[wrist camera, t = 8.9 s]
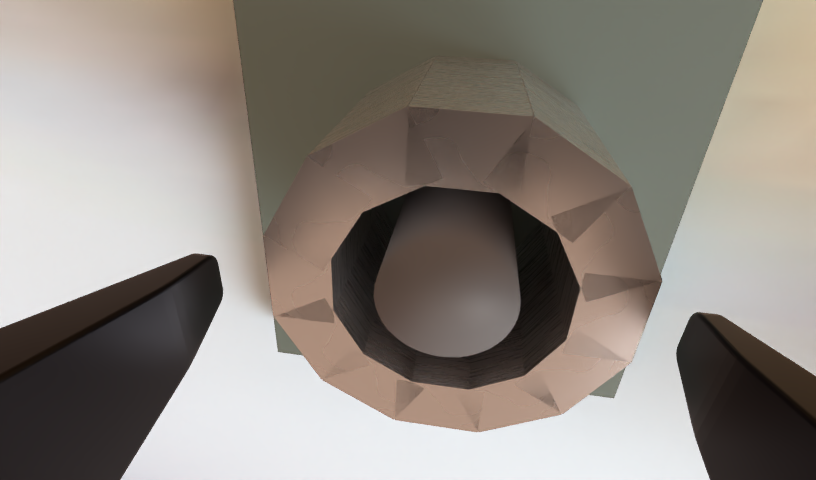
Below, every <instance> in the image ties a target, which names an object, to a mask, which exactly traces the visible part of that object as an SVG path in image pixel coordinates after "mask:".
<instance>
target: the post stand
mask: <svg viewBox="0 0 816 480" xmlns="http://www.w3.org/2000/svg"><path fill="white" fill-rule="evenodd" d="M233 2H234V10H235V18H236V26H237V33H238V41H239V49H240V57H241V65H242V73H243V80H244V88H245V96H246V104H247V112H248V120H249V128H250V135H251V143H252V151H253V159H254V167H255V175H256V183H257V190H258V198H259V206H260V214H261V222H262V230H263V236H264V233H265V231H266V230H267V228H268V226H269V224H270V222H271V220H272V219H273V217H274V215H275V213H276V211H277V210H278V208H279V206H280V204H281V202H282V200H283V199H284V197H285V195H286V193H287V191H288V190H289V188H290V186H291V184H292V182H293V180H294V179H295V177H296V175H297V173H298V171H299V170H300V168H301V166H302V164H303V162H304V160H305V159H306V157H307V156H308V155H309V154H310V152H311V151H312V150H313V149H314V148H315V147H316V146H317V145H318V144H319V143H320V142H321V141H322V140H323V139H324V138H325V137H326V136H327V135H328V134H329V133H330V132H331V131H332V130H333V128H334V127H335V126H336V125H337V124H338V123H339V122H340V121H341V120H342V119H343V118H344V117H345V116H346V115H347V114H348V113H349V112H350V111H351V110H352V109H353V108H354V107H355V106H356V104H357V103H358V102H359V101H360V100H361V99H362V98H363V97H364V96H365V95H366V94H367V93H368V92H369V91H370V90H371V89H373V88H375V87H377V86H379V85H381V84H383V83H385V82H387V81H389V80H390V79H392V78H394V77H396V76H398V75H400V74H402V73H404V72H406V71H408V70H410V69H412V68H413V67H415V66H417V65H419V64H421V63H423V62H425V61H427V60H429V59H431V58H433V57H434V56H437V55H440V56H455V57H469V58H484V59H498V60H512V61H516V62H517V61H518V62H519V63H520V64H522V65H523V66H524V67H526V68H527V69H528V70H530V71H531V72H532V73H534V74H535V75H537V76H538V77H539V78H541V79H542V80H543V81H545V82H546V83H547V84H549V85H550V86H551V87H553V88H554V89H556V90H557V91H558V92H560V93H561V94H562V95H564V96H565V97H566V98H568V99H569V100H570V101H572V102H573V103H575V104H576V105H577V106H578V107H579V108H580V110H581V111H582V113H583V114H584V116H585V117H586V119H587V120H588V122H589V123H590V125H591V126H592V128H593V129H594V131H595V132H596V134H597V135H598V137H599V138H600V140H601V141H602V143H603V144H604V146H605V147H606V149H607V150H608V152H609V153H610V155H611V156H612V158H613V159H614V161H615V162H616V164H617V165H618V167H619V168H620V170H621V171H622V173H623V174H624V176H625V177H626V179H627V180H628V182H629V183H630V185H631V187H632V189H633V192H634V195H635V198H636V201H637V204H638V207H639V210H640V213H641V217H642V220H643V223H644V226H645V229H646V232H647V235H648V238H649V241H650V244H651V247H652V250H653V253H654V256H655V260H656V263H657V266H658V269H659V272H660V274H661V271H662V269H663V266H664V263H665V261H666V258H667V255H668V253H669V250H670V247H671V245H672V242H673V239H674V237H675V234H676V231H677V229H678V226H679V223H680V221H681V218H682V215H683V213H684V210H685V207H686V205H687V202H688V199H689V197H690V194H691V191H692V189H693V186H694V183H695V181H696V178H697V175H698V173H699V170H700V167H701V165H702V162H703V159H704V157H705V154H706V151H707V149H708V146H709V143H710V141H711V138H712V135H713V133H714V130H715V127H716V125H717V122H718V119H719V117H720V114H721V111H722V109H723V106H724V103H725V101H726V98H727V95H728V93H729V90H730V87H731V85H732V82H733V79H734V77H735V74H736V71H737V69H738V66H739V63H740V61H741V58H742V55H743V53H744V50H745V47H746V45H747V42H748V39H749V37H750V34H751V31H752V29H753V26H754V23H755V21H756V18H757V15H758V13H759V10H760V7H761V5H762V2H763V0H233ZM381 206H382V208H383V209H384V211H385V213H386V215H387V216H388V218H389V220H390V221H391V223H392V225H393V227H394V231H393V234H392V236H391V239H390V242H389V245H388V248H387V250H386V253H385V256H384V259H383V262H382V264H381V267H380V270H379V273H378V276H377V279H376V282H375V287H374V302H375V306H376V310H377V312H378V315H379V317H380V319H381V320H382V322H383V324H384V325H385V326H386V328H387V329H388V330H389V331H390V332H391V333H392V334H393V335H394V336H395V337H396V338H397V339H398V340H400V341H401V342H403V343H404V344H406V345H407V346H409V347H411V348H413V349H415V350H418V351H420V352H423V353H426V354H430V355H434V356H440V357H464V356H470V355H474V354H478V353H481V352H483V351H486V350H488V349H490V348H492V347H493V346H495V345H497V344H498V343H499V342H501V341H502V340H503V339H504V338H505V337H506V336H507V335H508V334H509V333H510V331H511V330H512V328H513V327H514V325H515V323H516V321H517V319H518V316H519V312H520V305H521V301H520V288H519V278H518V269H517V259H516V249H515V248H516V247H517V246H518V245H519V244H520V243H521V242H522V241H523V240H524V239H525V237H526V236H527V235H528V234H529V233H530V232H531V231H532V230H533V229H534V228H535V227H536V226H537V225H538V224H539V223H540V220H538V219H537V218H535V217H534V216H532V215H531V214H529V213H528V212H526V211H525V210H523V209H522V208H520V207H519V206H517V205H516V204H514V203H513V202H511V201H510V200H508V199H507V198H505V197H504V196H503V195H501V194H500V193H492V192H482V191H472V190H462V189H452V188H441V187H431V186H423V187H421V188H419V189H416V190H414V191H411V192H409V193H407V194H404V195H402V196H400V197H397V198H395V199H393V200H390V201H388V202H385V203H383V204H381ZM274 324H275V332H276V339H277V347H278V352H283V353H290V354H297V355H303V354H302V353H301V352H300V350H299V349H298V348H297V346H296V345H295V344H294V343H293V341H292V340H291V339H290V337H289V336H288V335H287V333H286V332H285V331H284V329H283V328H282V327H281V326H280V324H279V323H278V322H277V320H276V319H275V318H274ZM624 370H625V368H624V369H622V370H621V371H620V372H618V373H617V374H616V375H614V376H613V377H612V378H610V379H609V380H607V381H606V382H605V383H603V384H602V385H601V386H599V387H598V388H597V389H595V390H594V391H593V392H591V393H590V394H589V395H594V396H602V397H609V398H614V397H615V394H616V391H617V389H618V386H619V383H620V381H621V378H622V375H623V373H624Z"/></svg>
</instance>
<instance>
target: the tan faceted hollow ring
mask: <svg viewBox="0 0 816 480" xmlns="http://www.w3.org/2000/svg"><path fill="white" fill-rule="evenodd" d="M423 186H431V187H441V188H452V189H462V190H472V191H482V192H492V193H500V194H501V195H503V196H504V197H505V198H507V199H508V200H510V201H511V202H513V203H514V204H516V205H517V206H519V207H520V208H522V209H523V210H525V211H526V212H528V213H529V214H531V215H532V216H534V217H535V218H537V219H538V220H540V223H539V224H538V225H537V226H536V227H535V228H534V229H533V230H532V231H531V232H530V233H529V234H528V235H527V236H526V237H525V239H524V240H523V241H522V242H521V243H520V244H519V245H518V246H517V247H516V248H515V249H516V259H517V269H518V278H519V288H520V301H521V305H520V312H519V316H518V319H517V321H516V323H515V325H514V327H513V328H512V330H511V331H510V333H509V334H508V335H507V336H506V337H505V338H504V339H503V340H502V341H501V342H499V343H498V344H497V345H495V346H493V347H492V348H490V349H488V350H486V351H483V352H481V353H478V354H474V355H470V356H464V357H440V356H434V355H430V354H426V353H423V352H420V351H418V350H415V349H413V348H411V347H409V346H407V345H406V344H404V343H403V342H401V341H400V340H398V339H397V338H396V337H395V336H394V335H393V334H392V333H391V332H390V331H389V330H388V329H387V328H386V326H385V325H384V324H383V322H382V320H381V319H380V317H379V315H378V312H377V310H376V306H375V302H374V287H375V282H376V279H377V276H378V273H379V270H380V267H381V264H382V262H383V259H384V256H385V253H386V250H387V248H388V245H389V242H390V239H391V236H392V234H393V231H394V227H393V225H392V223H391V221H390V220H389V218H388V216H387V215H386V213H385V211H384V209H383V208H382V206H381V204H383V203H385V202H388V201H390V200H393V199H395V198H397V197H400V196H402V195H404V194H407V193H409V192H411V191H414V190H416V189H419V188H421V187H423ZM263 239H264V247H265V255H266V263H267V270H268V278H269V286H270V294H271V302H272V310H273V316H274V318H275V319H276V320H277V322H278V323H279V324H280V326H281V327H282V328H283V329H284V331H285V332H286V333H287V335H288V336H289V337H290V339H291V340H292V341H293V343H294V344H295V345H296V346H297V348H298V349H299V350H300V352H301V353H302V354H303V356H304V357H305V358H306V360H307V361H308V362H309V363H310V365H311V366H312V367H313V369H314V370H315V371H316V373H317V374H318V375H319V377H320V378H321V379H323V381H325V382H327V383H329V384H330V385H332V386H334V387H336V388H338V389H339V390H341V391H343V392H345V393H347V394H349V395H350V396H352V397H354V398H356V399H358V400H359V401H361V402H363V403H365V404H367V405H368V406H370V407H372V408H374V409H376V410H377V411H379V412H381V413H383V414H385V415H386V416H388V417H390V418H392V419H395V420H399V421H406V422H412V423H419V424H426V425H432V426H439V427H446V428H452V429H459V430H466V431H472V432H482V431H487V430H491V429H496V428H501V427H505V426H510V425H515V424H519V423H524V422H529V421H533V420H538V419H543V418H547V417H552V416H556V415H561V413H562V414H563V413H565V412H566V411H567V410H569V409H570V408H571V407H573V406H574V405H575V404H577V403H578V402H579V401H581V400H582V399H583V398H585V397H586V396H587V395H589V394H590V393H591V392H593V391H594V390H595V389H597V388H598V387H599V386H601V385H602V384H603V383H605V382H606V381H607V380H609V379H610V378H612V377H613V376H614V375H616V374H617V373H618V372H620V371H621V370H622V369H624V368H625V367H626V366H628V365H629V364H630V362H632V359H633V357H634V354H635V352H636V349H637V346H638V344H639V341H640V338H641V336H642V333H643V331H644V328H645V325H646V323H647V320H648V317H649V315H650V312H651V310H652V307H653V304H654V302H655V299H656V296H657V294H658V291H659V289H660V286H661V283H662V278H661V275H660V272H659V269H658V266H657V263H656V260H655V256H654V253H653V250H652V247H651V244H650V241H649V238H648V235H647V232H646V229H645V226H644V223H643V220H642V217H641V213H640V210H639V207H638V204H637V201H636V198H635V195H634V192H633V189H632V187H631V185H630V183H629V182H628V180H627V179H626V177H625V176H624V174H623V173H622V171H621V170H620V168H619V167H618V165H617V164H616V162H615V161H614V159H613V158H612V156H611V155H610V153H609V152H608V150H607V149H606V147H605V146H604V144H603V143H602V141H601V140H600V138H599V137H598V135H597V134H596V132H595V131H594V129H593V128H592V126H591V125H590V123H589V122H588V120H587V119H586V117H585V116H584V114H583V113H582V111H581V110H580V108H579V107H578V106H577V105H576V104H575V103H573V102H572V101H570V100H569V99H568V98H566V97H565V96H564V95H562V94H561V93H560V92H558V91H557V90H556V89H554V88H553V87H551V86H550V85H549V84H547V83H546V82H545V81H543V80H542V79H541V78H539V77H538V76H537V75H535V74H534V73H532V72H531V71H530V70H528V69H527V68H526V67H524V66H523V65H522V64H520V63H519V62H518V61H517V62H516V61H512V60H498V59H484V58H469V57H455V56H440V55H437V56H434V57H433V58H431V59H429V60H427V61H425V62H423V63H421V64H419V65H417V66H415V67H413V68H412V69H410V70H408V71H406V72H404V73H402V74H400V75H398V76H396V77H394V78H392V79H390V80H389V81H387V82H385V83H383V84H381V85H379V86H377V87H375V88H373V89H371V90H370V91H369V92H368V93H367V94H366V95H365V96H364V97H363V98H362V99H361V100H360V101H359V102H358V103H357V104H356V106H355V107H354V108H353V109H352V110H351V111H350V112H349V113H348V114H347V115H346V116H345V117H344V118H343V119H342V120H341V121H340V122H339V123H338V124H337V125H336V126H335V127H334V128H333V130H332V131H331V132H330V133H329V134H328V135H327V136H326V137H325V138H324V139H323V140H322V141H321V142H320V143H319V144H318V145H317V146H316V147H315V148H314V149H313V150H312V151H311V152H310V154H309V155H308V156H307V157H306V159H305V160H304V162H303V164H302V166H301V168H300V170H299V171H298V173H297V175H296V177H295V179H294V180H293V182H292V184H291V186H290V188H289V190H288V191H287V193H286V195H285V197H284V199H283V200H282V202H281V204H280V206H279V208H278V210H277V211H276V213H275V215H274V217H273V219H272V220H271V222H270V224H269V226H268V228H267V230H266V231H265V233H264V236H263Z"/></svg>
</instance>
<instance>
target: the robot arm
mask: <svg viewBox="0 0 816 480" xmlns="http://www.w3.org/2000/svg"><path fill="white" fill-rule="evenodd" d="M222 297H223V287H222V282H221V277H220V271H219V266H218V262H217V260H216V258H215V257H214V256H212V255H204V254H191V255H188V256H186V257H183V258H181V259H178V260H175V261H173V262H170V263H168V264H165V265H162V266H160V267H157V268H155V269H152V270H150V271H147V272H144V273H142V274H139V275H137V276H134V277H131V278H129V279H126V280H124V281H121V282H119V283H116V284H113V285H111V286H108V287H106V288H103V289H101V290H98V291H95V292H93V293H90V294H88V295H85V296H82V297H80V298H77V299H75V300H72V301H70V302H67V303H64V304H62V305H59V306H57V307H54V308H51V309H49V310H46V311H44V312H41V313H39V314H36V315H33V316H31V317H28V318H26V319H23V320H20V321H18V322H15V323H13V324H10V325H8V326H5V327H2V328H0V480H120V479H121V478H122V476H123V474H124V473H125V471H126V470H127V468H128V466H129V465H130V463H131V461H132V460H133V458H134V457H135V455H136V453H137V452H138V450H139V448H140V447H141V445H142V444H143V442H144V440H145V439H146V437H147V436H148V434H149V432H150V431H151V429H152V427H153V426H154V424H155V423H156V421H157V419H158V418H159V416H160V414H161V413H162V411H163V410H164V408H165V406H166V405H167V403H168V401H169V400H170V398H171V397H172V395H173V393H174V392H175V390H176V388H177V387H178V385H179V384H180V382H181V380H182V379H183V377H184V375H185V374H186V372H187V370H188V369H189V367H190V365H191V363H192V361H193V359H194V358H195V356H196V354H197V351H198V349H199V347H200V345H201V343H202V341H203V339H204V337H205V335H206V332H207V330H208V328H209V326H210V324H211V322H212V320H213V318H214V316H215V314H216V311H217V309H218V307H219V305H220V303H221V300H222ZM676 356H677V363H678V367H679V371H680V376H681V380H682V384H683V389H684V393H685V397H686V402H687V406H688V410H689V414H690V419H691V423H692V427H693V431H694V434H695V438H696V441H697V444H698V447H699V450H700V453H701V456H702V458H703V461H704V464H705V467H706V470H707V472H708V475H709V478H710V480H816V376H814V375H813V374H811V373H810V372H808V371H807V370H805V369H804V368H802V367H801V366H799V365H797V364H796V363H794V362H793V361H791V360H790V359H788V358H787V357H785V356H783V355H782V354H780V353H779V352H777V351H776V350H774V349H773V348H771V347H769V346H768V345H766V344H765V343H763V342H762V341H760V340H759V339H757V338H756V337H754V336H752V335H751V334H749V333H748V332H746V331H745V330H743V329H742V328H740V327H738V326H737V325H735V324H734V323H732V322H731V321H729V320H728V319H726V318H724V317H723V316H721V315H718V314H709V313H700V312H697V313H695V314H693V315H692V316H691V317H690V319H689V321H688V323H687V326H686V328H685V330H684V333H683V335H682V337H681V340H680V342H679V344H678V347H677V353H676Z"/></svg>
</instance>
